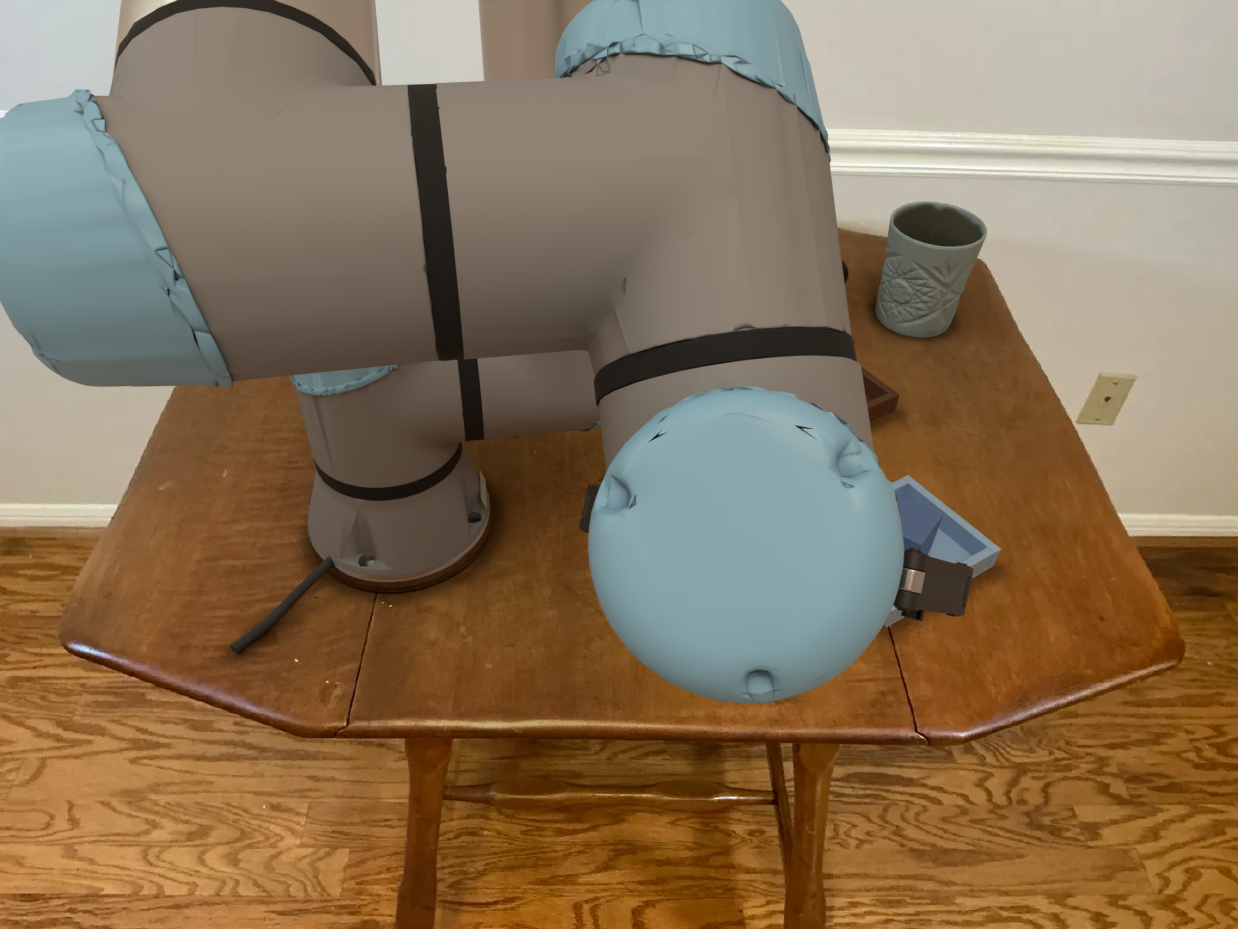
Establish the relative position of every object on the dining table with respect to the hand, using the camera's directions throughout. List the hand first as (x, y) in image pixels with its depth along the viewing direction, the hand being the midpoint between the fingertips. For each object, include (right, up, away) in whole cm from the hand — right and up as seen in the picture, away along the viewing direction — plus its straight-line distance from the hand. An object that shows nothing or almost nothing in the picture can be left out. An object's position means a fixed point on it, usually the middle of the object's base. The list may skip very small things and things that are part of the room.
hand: (771, 547), depth 57 cm
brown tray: (+8, +11, +39) cm, 41 cm away
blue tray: (+14, -3, +24) cm, 28 cm away
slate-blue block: (+14, -3, +23) cm, 27 cm away
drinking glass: (+25, +22, +52) cm, 61 cm away
